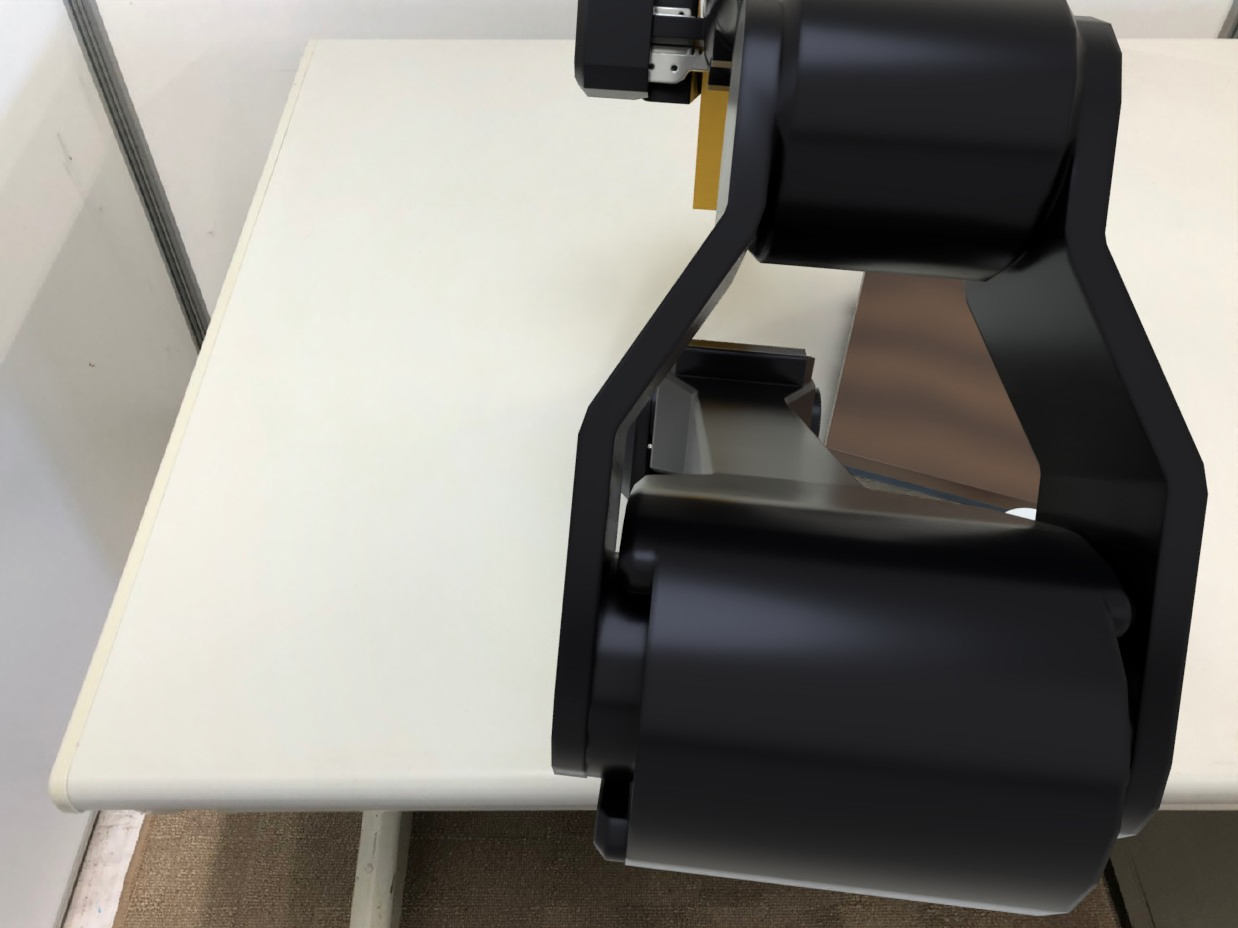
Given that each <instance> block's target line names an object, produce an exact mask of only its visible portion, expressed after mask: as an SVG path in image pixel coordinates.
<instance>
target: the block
mask: <svg viewBox="0 0 1238 928" xmlns="http://www.w3.org/2000/svg"><path fill="white" fill-rule="evenodd" d="M708 76H709V72H703V73H702V86H701V94H700V100H699V101H700V102H699V116H698V130H697V142H696V143H697V145H696V157H695V168H694V169H695V170H694V171H695V172H694V182H693V197H692V210H701V211H702V210H703V211H716V210H717V200H718V190H719V179H720V169H721V160H722V150H723V141H724V131H725V122H726V114H727V105H728V97H729V91H715V90H707V86H708Z"/></svg>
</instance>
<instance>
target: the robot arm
mask: <svg viewBox="0 0 1238 928" xmlns="http://www.w3.org/2000/svg"><path fill="white" fill-rule="evenodd" d="M701 5H702V7H701ZM701 9H702V10H701ZM701 12H702V13H701ZM701 14H702V17H701ZM575 24H576V26H575V40H574V41H575V42H574V57H573V66H574V68H573V69H574V79H575V81H576V83H577V86H578V87H579V89H581V91H582V92H583V93H584V94H585V96H586V97H587V98H599V99H611V100H612V99H614V100H626V101H627V100H629V101H638V100H643V101H644V102H648V103H659V104H674V105H687V106H689V105H690V104H692V103H693V102H694V101H695V100H696V99H697V98H698V97H700V96H701V86H702V73H703V72H709V76H708V86H707V90H715V91H729V97H728V105H727V114H726V122H725V131H724V141H723V150H722V160H721V169H720V179H719V190H718V200H717V210H715V221H714V227H713V228H712V230H711V231H710V232H709V234H708V235H707V237H706V238H705V240H704V241H703V242H702V244H701V245H700V247H699V248H698V249H697V251H696V252H695V253H694V255H693V257H692V258H691V259H690V260H689V262H688V264H687V265H686V267H684V269H683V271H682V272H681V274H680V275H679V276H678V277H677V279H676V281H675V282H674V284H673V285H672V286H671V287H670V289H669V291H668V292H667V293H666V295H665V296H664V298H663V299H662V300H661V302H660V303H659V305H658V306H657V308H656V309H655V311H654V312H653V314H652V315H651V316H650V318H649V319H648V320H647V322H646V323H645V325H644V326H643V328H642V329H641V330H640V332H639V333H638V335H637V336H636V337H635V339H634V341H633V342H632V343H631V344H630V346H629V348H627V350H626V352H625V353H624V354H623V356H622V358H621V359H620V361H619V362H618V363H617V365H616V366H615V368H614V369H613V370H612V372H611V373H610V374H609V376H608V377H607V379H606V380H605V382H604V383H603V384H602V386H601V387H600V389H599V390H598V392H597V393H596V394H595V396H594V397H593V399H592V400H591V401H590V403H589V404H588V406H587V409H586V411H585V414H584V416H583V419H582V421H581V425H580V428H579V430H578V432H577V440H576V451H575V463H574V473H573V483H572V484H573V485H572V497H571V504H570V505H571V507H570V517H569V528H568V537H567V538H568V540H567V549H566V560H565V570H564V571H565V572H564V583H563V593H562V605H561V616H560V627H559V638H558V647H557V659H556V669H555V681H554V690H553V691H554V692H553V706H552V720H551V721H552V722H551V735H550V745H551V746H550V752H551V753H550V757H551V758H550V763H551V769H552V772H553V775H555V776H556V775H557V776H563V777H574V778H580V779H588V777H589V778H597V779H600V784H599V792H598V798H597V803H596V814H595V821H594V822H595V823H594V830H593V831H594V832H593V840H592V842H593V843H592V844H593V845H594V847H595V849H596V850H597V851H598V853H599V854H600V855H601V857H602V858H603V859H604V861H610V862H616V863H617V862H619V863H624V865H625V866H630V867H637V868H644V869H652V870H653V869H654V870H661V871H668V872H670V871H671V872H676V873H677V872H678V873H686V874H694V875H701V876H710V877H718V878H727V879H733V880H734V879H735V880H742V881H751V882H759V883H767V884H773V885H774V884H775V885H783V886H791V887H792V886H793V887H799V888H806V889H807V888H808V889H816V890H825V891H832V892H841V893H849V894H856V895H864V896H872V897H881V898H889V899H897V900H905V901H906V900H907V901H915V902H922V903H929V904H937V905H944V906H945V905H946V906H953V907H961V908H969V909H970V908H971V909H978V910H985V911H986V910H987V911H994V912H1001V913H1002V912H1003V913H1011V914H1019V915H1027V916H1035V917H1042V916H1054V915H1062V914H1069V913H1071V912H1072V911H1073V910H1074V909H1075V908H1076V907H1077V906H1078V905H1079V904H1080V903H1081V902H1082V901H1083V900H1084V899H1085V898H1086V897H1087V896H1088V895H1089V894H1090V893H1091V892H1092V891H1093V890H1094V889H1095V888H1096V887H1097V886H1099V884H1100V881H1101V879H1102V876H1103V874H1104V872H1105V869H1106V867H1107V864H1108V862H1109V859H1110V857H1111V856H1112V855H1111V854H1112V852H1113V850H1114V847H1115V845H1116V842H1117V839H1123V838H1128V837H1133V836H1138V835H1139V833H1141V831H1142V830H1143V829H1144V828H1145V826H1146V825H1147V824H1148V823H1149V821H1150V820H1151V819H1152V818H1153V817H1154V815H1155V814H1157V812H1158V811H1159V810H1160V807H1161V805H1162V801H1163V798H1164V795H1165V791H1166V787H1167V783H1168V780H1169V776H1170V774H1171V770H1172V767H1173V763H1174V754H1175V748H1176V747H1175V746H1176V738H1177V732H1178V724H1179V718H1180V717H1179V715H1180V710H1181V709H1180V708H1181V701H1182V693H1183V687H1184V678H1185V671H1186V664H1187V656H1188V649H1189V641H1190V633H1191V627H1192V620H1193V619H1192V618H1193V612H1194V605H1195V597H1196V596H1195V595H1196V589H1197V582H1198V575H1199V567H1200V566H1199V565H1200V560H1201V559H1200V558H1201V551H1202V543H1203V537H1204V530H1205V522H1206V515H1207V506H1208V499H1209V490H1208V482H1207V476H1206V469H1205V463H1204V461H1203V459H1202V456H1201V454H1200V451H1199V449H1198V447H1197V445H1196V442H1195V440H1194V438H1193V436H1192V433H1191V431H1190V429H1189V427H1188V424H1187V422H1186V420H1185V418H1184V416H1183V413H1182V410H1181V409H1180V407H1179V404H1178V401H1177V400H1176V398H1175V395H1174V392H1173V390H1172V389H1171V386H1170V384H1169V382H1168V380H1167V377H1166V375H1165V373H1164V370H1163V367H1162V365H1161V363H1160V361H1159V359H1158V356H1157V354H1156V352H1155V350H1154V348H1153V345H1152V343H1151V341H1150V339H1149V336H1148V334H1147V331H1146V330H1145V329H1146V328H1145V327H1144V325H1143V323H1142V320H1141V318H1140V316H1139V314H1138V312H1137V309H1136V306H1135V305H1134V303H1133V300H1132V297H1131V296H1130V293H1129V291H1128V288H1127V287H1126V284H1125V282H1124V280H1123V277H1122V275H1121V273H1120V271H1119V268H1118V266H1117V263H1116V261H1115V259H1114V257H1113V255H1112V252H1111V250H1110V247H1109V246H1108V242H1107V235H1106V231H1107V230H1106V229H1107V223H1108V216H1109V215H1108V214H1109V207H1110V198H1111V191H1112V190H1111V189H1112V183H1113V176H1114V175H1113V174H1114V166H1115V159H1116V151H1117V150H1116V149H1117V144H1118V143H1117V142H1118V133H1119V126H1120V118H1121V111H1122V100H1123V99H1122V97H1123V93H1122V92H1123V91H1122V90H1123V51H1122V49H1121V47H1120V44H1119V41H1118V38H1117V35H1116V33H1115V31H1114V28H1113V24H1112V23H1110V22H1108V21H1105V20H1103V19H1099V18H1097V17H1094V16H1090V15H1089V16H1087V15H1075V14H1074V13H1073V11H1072V9H1071V7H1070V5H1069V3H1068V1H1067V0H703V4H702V3H701V0H577V10H576V23H575ZM747 252H749V253H750V255H751V256H752V257H753V258H754V260H756V262H758V263H759V264H766V265H777V266H778V265H779V266H788V267H789V266H791V267H802V268H815V269H826V270H827V269H828V270H838V271H840V270H842V271H852V272H873V273H885V274H897V275H909V276H921V277H934V278H946V279H958V280H963V283H964V289H965V296H966V302H967V305H968V307H969V310H970V312H971V314H972V316H973V319H974V321H975V323H976V325H977V328H978V330H979V332H980V334H981V336H982V339H983V341H984V343H985V345H986V348H987V350H988V352H989V354H990V357H991V359H992V361H993V363H994V366H995V368H996V370H997V372H998V375H999V377H1000V379H1001V381H1002V384H1003V386H1004V388H1005V390H1006V393H1007V395H1008V397H1009V399H1010V401H1011V404H1012V406H1013V408H1014V410H1015V413H1016V415H1017V417H1018V419H1019V422H1020V424H1021V426H1022V428H1023V431H1024V433H1025V435H1026V437H1027V440H1028V442H1029V444H1030V446H1031V449H1032V451H1033V453H1034V455H1035V458H1036V460H1037V462H1038V464H1039V467H1040V473H1041V476H1040V484H1039V492H1038V500H1037V508H1036V517H1035V520H1032V519H1028V518H1024V517H1020V516H1016V515H1012V514H1008V513H1004V512H1000V511H996V510H992V509H988V508H983V507H977V506H971V505H965V504H960V503H956V502H952V501H947V500H939V499H933V498H929V497H928V498H927V497H922V496H915V495H908V494H902V493H896V492H891V491H884V490H878V489H873V488H868V487H865V486H863V485H862V484H861V483H860V481H859V480H858V479H856V478H855V475H853V474H851V473H850V472H849V471H848V470H847V469H846V468H845V467H844V465H843V464H842V463H841V462H840V461H839V460H838V459H837V458H836V457H835V456H834V455H833V454H832V452H831V451H830V450H829V449H828V448H827V447H826V446H825V445H824V442H823V441H821V439H820V437H819V436H820V432H821V431H820V430H821V422H822V421H821V420H822V393H821V390H820V387H817V386H816V384H815V382H814V380H813V373H814V369H815V368H814V367H815V363H816V357H813V356H811V355H807V351H806V348H799V347H788V346H777V345H767V344H766V345H765V344H753V343H742V342H731V341H722V340H721V341H720V340H719V341H718V340H709V339H698V338H697V339H696V338H695V336H696V334H697V333H698V332H699V330H701V328H702V327H703V325H704V323H705V322H706V320H707V319H708V318H709V316H710V315H711V313H712V312H713V310H714V309H715V308H716V307H717V305H718V304H719V302H720V301H721V299H723V297H724V295H725V294H726V292H727V291H728V290H729V288H730V287H731V286H732V284H733V282H734V280H735V278H736V276H737V273H738V271H739V270H740V268H741V265H742V263H743V260H744V259H745V257H746V255H747ZM650 446H651V447H650ZM622 496H623V497H624V498H626V500H627V501H626V505H625V510H624V515H623V521H622V522H623V523H622V528H621V536H620V542H619V549H618V551H617V542H618V532H619V531H618V530H619V523H620V522H619V521H620V512H621V511H620V510H621V499H622Z"/></svg>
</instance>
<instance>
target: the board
mask: <svg viewBox="0 0 1238 928" xmlns="http://www.w3.org/2000/svg"><path fill="white" fill-rule="evenodd" d="M851 321H852V322H851V325H850V330H849V334H848V339H847V342H846V346H845V352H844V356H843V360H842V365H841V369H840V373H839V378H838V381H837V386H836V391H835V396H834V400H833V404H832V409H831V413H830V417H829V422H828V425H827V431H826V435H825V439H824V442H823V444H824V445H825V446H826V447H827V448H828V449H829V450H830V451H831V452H832V454H833V455H834V456H835V457H836V458H837V459H838V460H839V461H840V462H841V463H842V464H843V465H844V467H845V468H846V469H847V470H848V471H849V472H850V473H851V474H852V475H853V476H857V477H861V478H864V479H867V480H871V481H875V482H879V483H882V484H886V485H891V486H894V487H898V488H901V489H905V490H909V491H912V492H916V493H919V494H922V495H927V496H931V497H934V498H937V499H938V498H939V499H941V500H944V501H948V502H952V503H959V504H965V505H971V506H977V507H983V508H988V509H992V510H996V511H1000V512H1004V513H1005V512H1007V511H1010V510H1013V509H1017V508H1032V509H1036V508H1037V500H1038V492H1039V484H1040V476H1041V473H1040V467H1039V464H1038V462H1037V460H1036V458H1035V455H1034V453H1033V451H1032V449H1031V446H1030V444H1029V442H1028V440H1027V437H1026V435H1025V433H1024V431H1023V428H1022V426H1021V424H1020V422H1019V419H1018V417H1017V415H1016V413H1015V410H1014V408H1013V406H1012V404H1011V401H1010V399H1009V397H1008V395H1007V393H1006V390H1005V388H1004V386H1003V384H1002V381H1001V379H1000V377H999V375H998V372H997V370H996V368H995V366H994V363H993V361H992V359H991V357H990V354H989V352H988V350H987V348H986V345H985V343H984V341H983V339H982V336H981V334H980V332H979V330H978V328H977V325H976V323H975V321H974V319H973V316H972V314H971V312H970V310H969V307H968V305H967V302H966V296H965V289H964V283H963V280H958V279H946V278H934V277H921V276H909V275H897V274H885V273H873V272H863V273H862V276H861V281H860V285H859V290H858V294H857V298H856V303H855V307H854V311H853V317H852V320H851Z"/></svg>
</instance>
